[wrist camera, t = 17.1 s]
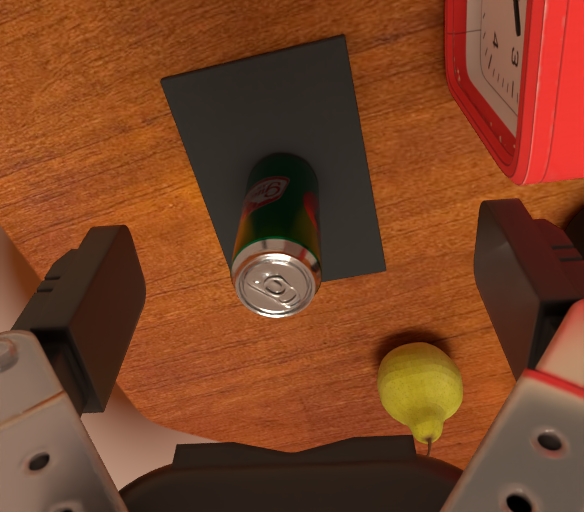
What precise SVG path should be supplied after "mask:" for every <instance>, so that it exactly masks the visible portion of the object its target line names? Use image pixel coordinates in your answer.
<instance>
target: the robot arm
mask: <svg viewBox="0 0 584 512" xmlns="http://www.w3.org/2000/svg"><path fill="white" fill-rule="evenodd" d="M474 275H475V281H476V285H477V288H478V290H479V292H480V295H481V297H482V300H483V302H484V305H485V307H486V309H487V312H488V314H489V317H490V319H491V322H492V324H493V326H494V329H495V331H496V334H497V336H498V338H499V341H500V343H501V346H502V348H503V351H504V353H505V355H506V358H507V360H508V363H509V365H510V368H511V370H512V372H513V375H514V377H515V380H516V384H515V386H514V387H513V389H512V391H511V393H510V394H509V396H508V398H507V399H506V401H505V403H504V404H503V406H502V408H501V409H500V411H499V413H498V414H497V416H496V418H495V419H494V421H493V423H492V424H491V426H490V428H489V429H488V431H487V433H486V435H485V436H484V438H483V440H482V441H481V443H480V445H479V446H478V448H477V450H476V451H475V453H474V455H473V456H472V458H471V460H470V461H469V463H468V465H467V466H466V468H465V470H464V471H463V470H461V469H460V468H458V467H456V466H454V465H451V464H449V463H447V462H444V461H442V460H439V459H436V458H433V457H429V456H426V455H421V454H416V450H415V445H414V439H413V435H396V436H371V437H352V438H349V439H345V440H341V441H337V442H334V443H330V444H326V445H323V446H319V447H315V448H311V449H308V450H304V451H300V452H295V453H288V452H282V451H277V450H272V449H267V448H261V447H256V446H251V445H246V444H241V443H235V442H224V443H201V444H177V445H176V450H175V454H174V459H173V463H172V464H169V465H166V466H164V467H161V468H158V469H155V470H153V471H151V472H149V473H147V474H145V475H143V476H141V477H139V478H137V479H136V480H134V481H132V482H131V483H129V484H128V485H126V486H125V487H123V488H122V489H121V490H119V491H118V490H117V488H116V486H115V484H114V482H113V480H112V479H111V477H110V475H109V473H108V471H107V469H106V467H105V465H104V463H103V461H102V459H101V457H100V455H99V454H98V452H97V450H96V448H95V446H94V444H93V442H92V440H91V438H90V436H89V434H88V432H87V431H86V429H85V427H84V425H83V423H82V421H81V419H80V418H81V415H82V413H97V412H104V410H105V408H106V405H107V402H108V399H109V397H110V394H111V392H112V389H113V386H114V384H115V381H116V378H117V376H118V373H119V370H120V368H121V365H122V363H123V360H124V357H125V355H126V352H127V349H128V347H129V344H130V341H131V339H132V336H133V333H134V331H135V328H136V325H137V323H138V320H139V317H140V315H141V312H142V309H143V307H144V304H145V298H146V286H145V280H144V276H143V273H142V270H141V266H140V263H139V259H138V256H137V253H136V249H135V246H134V243H133V239H132V236H131V233H130V231H129V229H128V227H127V226H126V225H113V226H98V227H92V228H90V230H89V231H88V233H87V235H86V236H85V238H84V239H83V241H82V243H81V244H80V246H79V248H78V249H71V250H70V251H68V252H67V253H66V254H65V255H63V256H62V257H61V258H60V259H58V260H57V261H56V262H55V263H54V264H53V265H52V267H51V268H50V270H49V271H48V273H47V274H46V276H45V280H44V281H42V282H41V284H40V285H39V287H38V288H37V293H34V295H33V296H32V298H31V299H30V301H29V302H28V304H27V305H26V307H25V308H24V310H23V311H22V313H21V315H20V316H19V318H18V319H17V321H16V322H15V324H14V325H13V327H12V328H11V330H10V331H5V332H1V333H0V512H584V260H582V256H581V255H580V253H579V252H578V250H577V249H576V248H574V245H573V243H572V242H571V241H570V239H569V238H568V236H567V235H566V234H565V232H564V231H563V230H561V229H560V228H558V227H557V226H555V225H553V224H552V223H550V222H549V221H547V220H546V219H534V220H533V219H532V217H531V216H530V214H529V213H528V211H527V210H526V208H525V207H524V205H523V204H522V202H521V201H520V200H519V199H517V198H515V199H501V200H486V201H483V202H482V203H481V205H480V209H479V217H478V226H477V236H476V245H475V254H474Z"/></svg>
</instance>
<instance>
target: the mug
mask: <svg viewBox="0 0 584 512" xmlns="http://www.w3.org/2000/svg"><path fill="white" fill-rule="evenodd" d="M565 234H566V235H567V236H568V238H569V239H570V241H571V242H572V243H573V245H574V248H576V249H577V250H578V252H579V253H580V255H581V256H582V260H584V209H583V210H582V211H580V212H579V213H578V214H577V215H576V216H575V217H574V218H573V219H572V221H571V222H570V223H569V225H568V227H567V228H566V231H565Z"/></svg>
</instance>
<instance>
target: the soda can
mask: <svg viewBox="0 0 584 512" xmlns="http://www.w3.org/2000/svg"><path fill="white" fill-rule="evenodd" d="M230 276H231V281H232V284H233V286H234V288H235V290H236V293H237V295H238V298H239V299H240V301H241V302H242V303H243V304H244V305H245V306H246V307H247V308H248V309H249V310H251V311H253V312H254V313H257V314H259V315H262V316H265V317H271V318H282V317H288V316H291V315H294V314H296V313H298V312H300V311H302V310H303V309H305V308H306V307H307V306H308V305H309V303H310V302H311V301H312V299H313V297H314V295H315V294H316V293H317V291H318V289H319V287H320V285H321V281H322V254H321V228H320V202H319V183H318V179H317V177H316V175H315V173H314V171H313V170H312V168H311V167H310V166H309V165H308V164H306V163H305V162H304V161H302V160H300V159H298V158H295V157H292V156H287V155H277V156H272V157H269V158H266V159H264V160H263V161H261V162H259V163H258V164H257V165H256V166H255V167H254V168H253V170H252V171H251V173H250V175H249V177H248V181H247V186H246V191H245V196H244V201H243V206H242V212H241V217H240V222H239V227H238V232H237V237H236V242H235V248H234V253H233V258H232V263H231V269H230Z"/></svg>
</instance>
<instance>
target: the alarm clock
mask: <svg viewBox="0 0 584 512" xmlns="http://www.w3.org/2000/svg"><path fill="white" fill-rule="evenodd" d="M445 69H446V79H447V84H448V87H449V90H450V92H451V94H452V96H453V98H454V99H455V101H456V102H457V104H458V106H459V107H460V109H461V110H462V112H463V113H464V115H465V116H466V118H467V119H468V121H469V122H470V124H471V125H472V127H473V128H474V130H475V131H476V133H477V135H478V136H479V138H480V139H481V141H482V142H483V144H484V145H485V147H486V148H487V150H488V151H489V153H490V154H491V156H492V157H493V159H494V160H495V162H496V164H497V165H498V166H499V168H500V169H501V171H502V172H503V173H504V174H505V175H506V176H507V177H508V178H509V179H511V180H512V181H513V182H514V183H515V184H517V185H526V184H535V183H543V182H552V181H560V180H569V179H577V178H584V0H445Z"/></svg>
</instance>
